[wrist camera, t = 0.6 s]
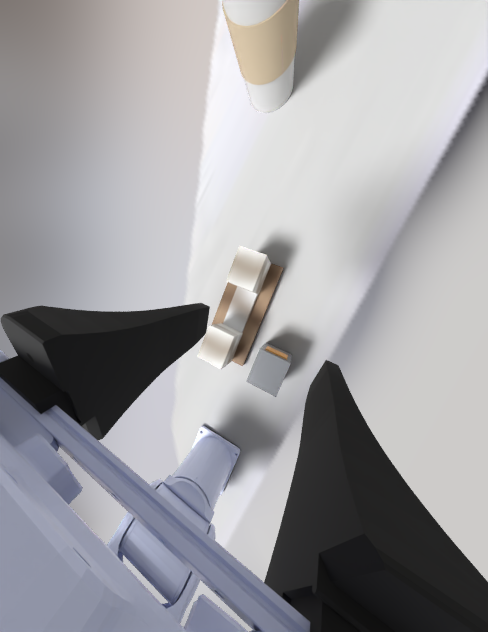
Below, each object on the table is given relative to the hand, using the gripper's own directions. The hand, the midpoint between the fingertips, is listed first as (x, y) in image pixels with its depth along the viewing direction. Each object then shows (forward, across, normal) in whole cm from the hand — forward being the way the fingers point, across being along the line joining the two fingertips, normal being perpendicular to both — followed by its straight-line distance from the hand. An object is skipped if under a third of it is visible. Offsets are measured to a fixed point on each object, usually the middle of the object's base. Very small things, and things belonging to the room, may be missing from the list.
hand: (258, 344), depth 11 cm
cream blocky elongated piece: (+17, +8, +8) cm, 21 cm away
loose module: (+15, 0, +14) cm, 21 cm away
